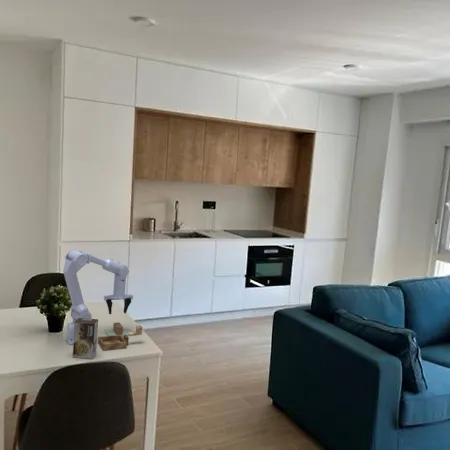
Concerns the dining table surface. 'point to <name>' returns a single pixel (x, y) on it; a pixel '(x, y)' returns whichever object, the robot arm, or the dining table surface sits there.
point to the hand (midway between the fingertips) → (117, 313)
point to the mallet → (138, 331)
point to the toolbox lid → (117, 330)
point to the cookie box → (85, 338)
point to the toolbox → (113, 342)
